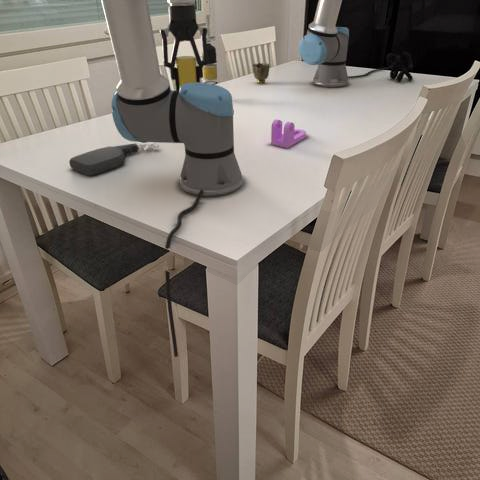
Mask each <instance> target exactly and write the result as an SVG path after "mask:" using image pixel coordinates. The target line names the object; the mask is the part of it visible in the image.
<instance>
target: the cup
mask: <svg viewBox="0 0 480 480" xmlns="http://www.w3.org/2000/svg"><path fill="white" fill-rule="evenodd" d="M270 66H271V65H270V63H265V64H264V63H263V62H262V63H260V62H258V63H253V64H252V71H253V76H254V79H256V82H257V84H259V85H260V84H261V85H262V84H265V83H266V80H267V79H268V77H269V74H270Z"/></svg>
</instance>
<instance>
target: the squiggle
mask: <svg viewBox="0 0 480 480" xmlns="http://www.w3.org/2000/svg"><path fill="white" fill-rule="evenodd" d="M401 57H402V59H401ZM391 59H392V60H391ZM393 60H394V61H393ZM385 61H386V64H387V67H390V66H391V68H390V69H391V70H390V72H389V78H390V79H391V80H395V79H396V81H397V82H399V83H400V82H402V81H403V79H404V76H406V78H407V80H408V81H412V80H413V79H414V77H413V75H412V74H411V73H410V72H409V71H410V70H412V69H413V68H414V64H413V61H412V57H411V54H410V53H409V52H408V51H403V53H402V54H401V55H396V54H394V53H392V52H390V53H387V55H386V57H385ZM406 62H407V65H408V66H407V67H405V66H404V65H405V64H406ZM400 70H401V71H400Z"/></svg>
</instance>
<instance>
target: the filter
mask: <svg viewBox="0 0 480 480" xmlns="http://www.w3.org/2000/svg"><path fill="white" fill-rule="evenodd" d="M210 17H211V14H204V18H205V28H207V35H206V42H207V51H208V61H209V63H208V64H206V65H204V66H203V80H204V82H203V83H214V85H217V84H219V82H218V81H216V80H218V64H216V63H218V61H217V48H216V47H215V46H214V45H212V43H210V42H211V40H210V39H211V31H210V29H211V28H210ZM201 55H202V57H201V58H202V59H203V53H202V54H201Z"/></svg>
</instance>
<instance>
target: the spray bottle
mask: <svg viewBox="0 0 480 480" xmlns="http://www.w3.org/2000/svg"><path fill="white" fill-rule="evenodd" d="M159 148H160V145H159V144H158V143H156V142H147V143H141V142H135V143H129V144H128V143H126V144H122V145H113V146H105V147H100V148H97V149H94V150H90V151H87V152H83V153H81V154H78V155H74V156H73V157H70V159H69V161H68V162H69V167H70V168H71V169H72V170H74V171H75V172H78V173H81V174H83V175H85V176H89V177H90V176H91V177H92V176H95V175H99V174H102V173H105V172H107V171H110V170H113V169H116V168H118V167H120V166H122V165H123V164H124V163H125V158H126V156H127V155H131V154H133V153H138V151H140V150H143V151H144V152H146V151H147V150H149V149H159Z"/></svg>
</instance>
